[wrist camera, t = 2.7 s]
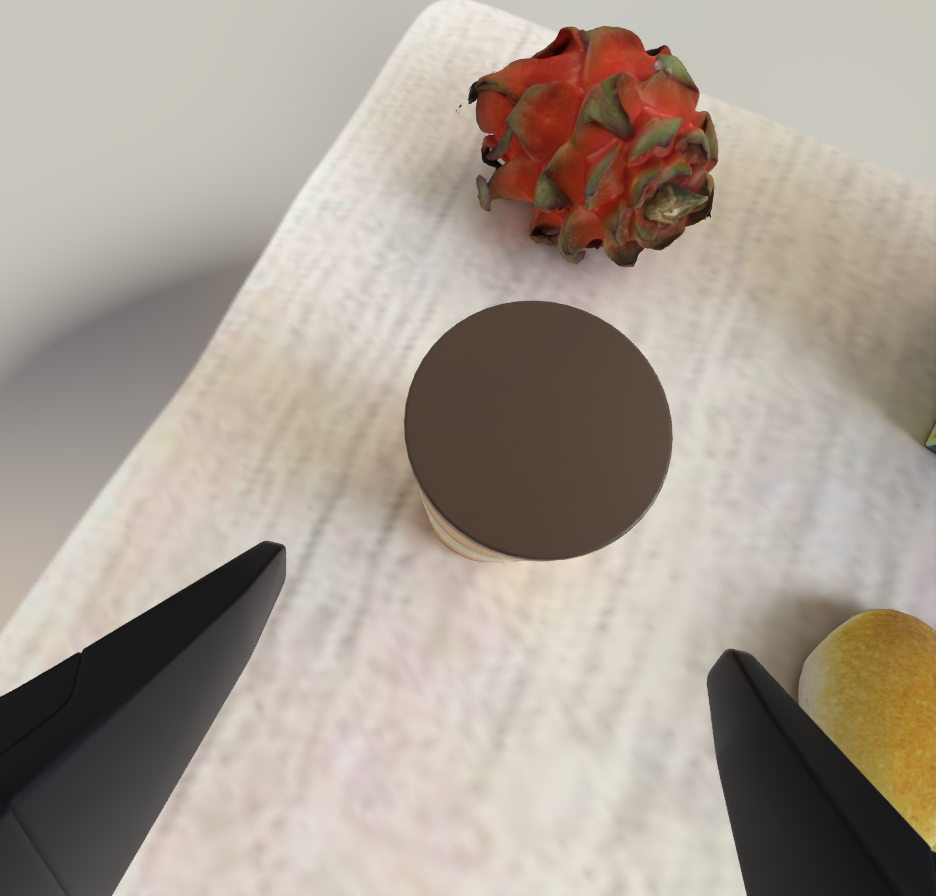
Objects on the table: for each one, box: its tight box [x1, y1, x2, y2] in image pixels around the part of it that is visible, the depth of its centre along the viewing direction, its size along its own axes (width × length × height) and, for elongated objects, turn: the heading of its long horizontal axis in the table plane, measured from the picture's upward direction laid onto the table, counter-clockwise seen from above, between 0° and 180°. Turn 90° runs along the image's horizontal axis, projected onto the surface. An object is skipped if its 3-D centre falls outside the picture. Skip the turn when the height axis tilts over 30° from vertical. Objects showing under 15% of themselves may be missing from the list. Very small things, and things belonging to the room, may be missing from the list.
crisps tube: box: [404, 301, 673, 563], centre depth 16 cm, size 6×6×11 cm
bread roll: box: [799, 609, 936, 852], centre depth 18 cm, size 8×9×4 cm
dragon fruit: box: [456, 26, 718, 267], centre depth 21 cm, size 8×8×12 cm
